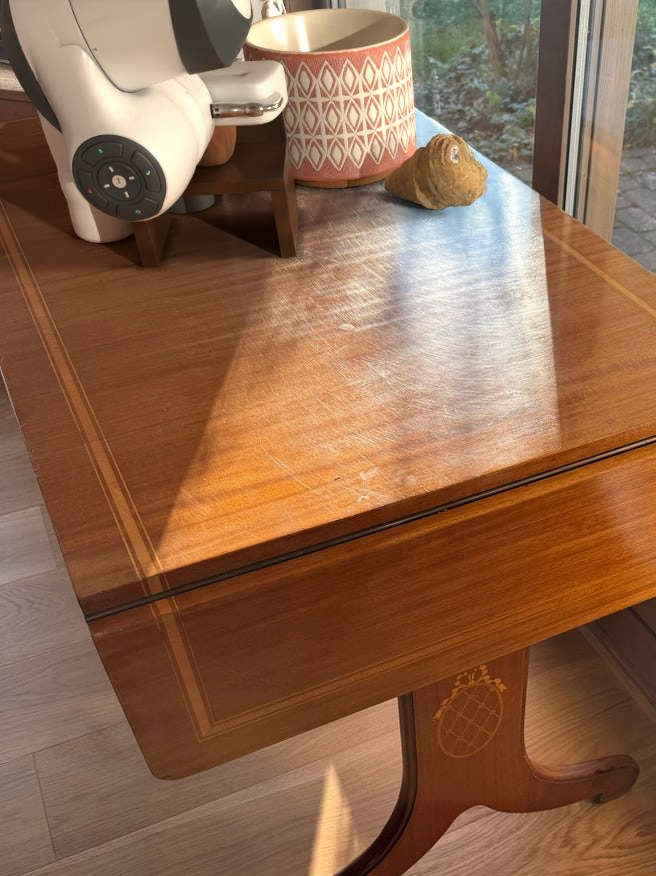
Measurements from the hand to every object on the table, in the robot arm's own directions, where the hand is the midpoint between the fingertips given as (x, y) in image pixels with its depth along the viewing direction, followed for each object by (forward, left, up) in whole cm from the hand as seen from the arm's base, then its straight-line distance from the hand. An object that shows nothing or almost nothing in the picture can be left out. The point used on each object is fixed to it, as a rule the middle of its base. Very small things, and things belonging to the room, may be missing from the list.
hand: (190, 68), depth 96 cm
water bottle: (-13, +3, -17) cm, 21 cm away
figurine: (+4, +35, -17) cm, 39 cm away
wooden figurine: (0, -1, -9) cm, 9 cm away
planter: (+13, +19, -17) cm, 28 cm away
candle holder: (-5, +10, -17) cm, 20 cm away
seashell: (+24, +4, -17) cm, 29 cm away
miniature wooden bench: (0, -1, -16) cm, 16 cm away
